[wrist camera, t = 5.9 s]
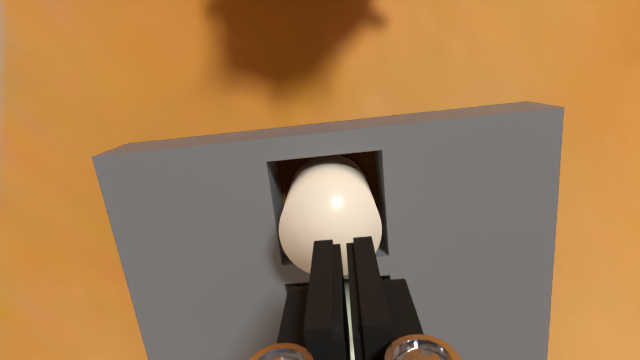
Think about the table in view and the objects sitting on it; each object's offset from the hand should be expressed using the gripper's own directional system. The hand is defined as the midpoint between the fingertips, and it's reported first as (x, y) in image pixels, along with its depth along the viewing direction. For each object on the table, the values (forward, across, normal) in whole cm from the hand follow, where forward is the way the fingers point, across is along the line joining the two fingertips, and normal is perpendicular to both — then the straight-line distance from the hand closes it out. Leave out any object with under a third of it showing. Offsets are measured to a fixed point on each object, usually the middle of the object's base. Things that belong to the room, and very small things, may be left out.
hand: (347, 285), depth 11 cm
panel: (+9, +1, +6) cm, 11 cm away
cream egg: (+9, +1, 0) cm, 9 cm away
